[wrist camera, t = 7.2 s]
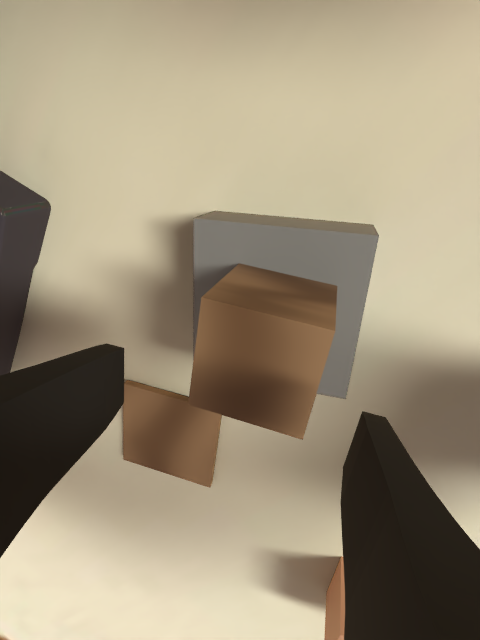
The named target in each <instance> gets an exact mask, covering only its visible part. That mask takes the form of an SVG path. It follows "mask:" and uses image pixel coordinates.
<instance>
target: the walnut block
mask: <svg viewBox="0 0 480 640" xmlns="http://www.w3.org/2000/svg"><path fill="white" fill-rule="evenodd" d="M336 306H337V286H336V285H332V284H327V283H323V282H319V281H314V280H310V279H305V278H301V277H297V276H292V275H288V274H284V273H279V272H275V271H271V270H266V269H262V268H258V267H253V266H249V265H245V264H240V263H239V264H238V265H237V266H236V267H235V268H234V269H232V270H231V271H230V272H229V273H228V274H227V275H226V276H225V277H224V278H222V279H221V280H220V281H219V282H218V283H217V284H216V285H215V286H213V287H212V288H211V289H210V290H209V291H208V292H207V293H206V294H205V295H203V296H202V297H201V305H200V313H199V321H198V329H197V337H196V345H195V354H194V362H193V370H192V378H191V386H190V394H189V402H188V405H191V406H195V407H198V408H201V409H204V410H208V411H211V412H214V413H218V414H221V415H224V416H227V417H231V418H234V419H237V420H240V421H244V422H247V423H250V424H253V425H257V426H260V427H263V428H266V429H270V430H273V431H276V432H279V433H283V434H286V435H289V436H292V437H296V438H299V439H302V440H303V436H304V433H305V430H306V426H307V423H308V420H309V417H310V413H311V410H312V407H313V403H314V400H315V397H316V393H317V390H318V387H319V383H320V380H321V377H322V374H323V370H324V367H325V364H326V360H327V357H328V354H329V350H330V347H331V344H332V340H333V337H334V334H335V327H336Z"/></svg>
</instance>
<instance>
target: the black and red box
mask: <svg viewBox="0 0 480 640" xmlns="http://www.w3.org/2000/svg"><path fill="white" fill-rule="evenodd" d="M50 211H51V206H50V203H49V202H48V201H47V200H46V199H45V198H43V197H42V196H40V195H38V194H37V193H35V192H34V191H32V190H30V189H29V188H27V187H26V186H24V185H22V184H21V183H19V182H18V181H16V180H14V179H13V178H11V177H10V176H8V175H6V174H5V173H3V172H2V171H0V375H4V374H7V373H10V370H11V366H12V362H13V358H14V354H15V350H16V346H17V342H18V338H19V334H20V330H21V326H22V321H23V317H24V312H25V307H26V302H27V297H28V292H29V287H30V282H31V277H32V272H33V268H34V267H35V265H36V264H37V262H38V259H39V255H40V251H41V247H42V243H43V239H44V235H45V231H46V227H47V223H48V219H49V215H50Z"/></svg>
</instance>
